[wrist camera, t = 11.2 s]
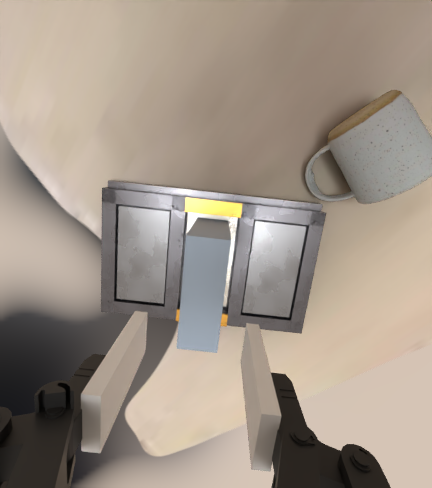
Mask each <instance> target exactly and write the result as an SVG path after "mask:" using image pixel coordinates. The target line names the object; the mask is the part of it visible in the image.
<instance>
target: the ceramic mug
mask: <svg viewBox="0 0 432 488" xmlns="http://www.w3.org/2000/svg"><path fill="white" fill-rule="evenodd" d="M327 140H328V144H327V145H326V146H325V147H323V148H321V149H320V150H319V151H318V152H317V153H316V154H315V155H314V156H313V157H312V158H311V159H310V161H309V162H308V165H307V167H306V172H305V179H306V183H307V186H308V188H309V190H310V192H311V193H312V194H313V195H314V196H315V197H316V198H318V199H320V200H323V201H331V202H335V201H342V200H346V199H350V198H352V197H355V198H356V200H357V201H358V202H359V203H362V204H371V203H375V202H379V201H382V200H386V199H389V198H391V197H394V196H396V195H398V194H401V193H403V192H405V191H407V190H410V189H412V188H413V187H415V186H417V185H419V184H420V183H422V182H424V181H425V180H427V179H428V178H430V177H431V176H432V137H431V135H430V134H429V132H428V130H427V129H426V127H425V125H424V124H423V122H422V121H421V119H420V117H419V116H418V114H417V112H416V110H415V109H414V107H413V105H412V104H411V102H410V101H409V100H408V99H407V98H406V97H405V96H404V95H403V94H402V92H400V91H398V90H391V91H389V92H387V93H385V94H384V95H382V96H380V97H379V98H377V99H376V100H374V101H373V102H371V103H370V104H368V105H367V106H365V107H364V108H362V109H361V110H359V111H358V112H356V113H355V114H353V115H352V116H350V117H349V118H348V119H346V120H345V121H343V122H342V123H341V124H339V125H338V126H336V127H335V128H334V129H332V130H331V131H330V133H329V134H328V139H327ZM327 150H330V151H331V153H332V154H333V156H334V158H335V160H336V162H337V164H338V166H339V167H340V169H341V171H342V173H343V175H344V177H345V179H346V181H347V183H348V185H349V187H350V189H351V191H350V192H348V193H345V194H342V195H335V196H328V195H324V194H322V193H321V192H320V191H319V190H318V188H317V186H316V184H315V181H314V178H313V177H314V174H313V172H312V169H311V167H312V165H313V163H314V161H315V159H317V158H318V157H319V156H320V155H321V154H322V153H324V152H326V151H327Z"/></svg>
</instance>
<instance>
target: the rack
mask: <svg viewBox="0 0 432 488" xmlns="http://www.w3.org/2000/svg"><path fill="white" fill-rule="evenodd" d="M321 210H322V204H318V203H309V202H300V201H291V200H282V199H273V198H264V197H255V196H246V195H237V194H228V193H219V192H210V191H201V190H192V189H183V188H174V187H165V186H156V185H147V184H138V183H129V182H120V181H108V187H107V188H102V271H101V276H102V277H101V311H102V312H110V313H120V314H129V315H133V314H134V312H135V311H140V312H148V313H147V317H156V318H166V319H174V320H176V321H179V315H180V303H181V291H182V279H183V267H184V255H185V243H186V235H187V233H188V232H189V230H190V229H191V227H192V225H193V224H194V222H195V221H196V219H197V217H201V218H210V219H219V220H228V221H229V229H230V236H231V246H230V254H229V262H228V270H227V278H226V286H225V294H224V302H223V310H222V318H221V326H227V325H229V326H238V327H246V323H249V324H259V327H260V329H265V330H274V331H283V332H292V333H302V328H303V323H304V318H305V313H306V308H307V303H308V299H309V294H310V289H311V284H312V279H313V274H314V269H315V265H316V260H317V255H318V250H319V245H320V240H321V235H322V231H323V226H324V221H325V216H326V213H325V212H322V211H321Z"/></svg>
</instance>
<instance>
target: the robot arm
mask: <svg viewBox="0 0 432 488" xmlns="http://www.w3.org/2000/svg"><path fill="white" fill-rule="evenodd" d="M147 313H148V312H140V311H135V312H134V314H133V315H132V317H131V318H130V320H129V321H128V323H127V324H126V326H125V327H124V329H123V330H122V332H121V334H120V335H119V337H118V338H117V340H116V341H115V343H114V344H113V346H112V347H111V349H110V350H109V352H108V353H107V355H98V354H93V355H92V356H90V357H89V358H87V359H86V360H85V361H84V362H83V363H82V364H81V366H80V367H79V369H78V370H77V371H76V372H75V374H74V376H72V378H71V379H70V380H69V382H68V381H54V382H51V383H48V384H46V385H45V386H43V387H41V388H40V389H39V390H38V391H37V392H36V394H35V395H34V399H35V413H31V414H26V415H20V416H14V417H11V411H10V410H9V409H8V408H4V407H0V488H70V485H71V480H72V475H73V470H74V465H75V451H76V450H77V448H78V446H79V444H80V442H81V443H82V444H81V447H82V448H81V449H82V451H85V452H96V453H101V451H102V448H103V446H104V444H105V441H106V439H107V437H108V435H109V432H110V430H111V428H112V426H113V424H114V421H115V419H116V417H117V414H118V412H119V410H120V408H121V405H122V403H123V401H124V399H125V396H126V394H127V392H128V390H129V387H130V385H131V383H132V380H133V378H134V376H135V374H136V371H137V369H138V367H139V365H140V363H141V360H142V358H143V356H144V353H145V351H146V332H147ZM241 369H242V379H243V389H244V399H245V410H246V420H247V429H248V440H249V450H250V460H251V469H252V470H263V471H270V470H271V465H272V462H273V468H274V478H273V483H272V488H391V487H390V485H389V483H388V481H387V479H386V477H385V475H384V473H383V471H382V469H381V467H380V465H379V463H378V462H377V460H376V459H375V457H374V456H373V455H372V454H370V452H369V451H367V450H365V449H364V448H362V447H361V446H358V445H354V444H347V445H345V446H343V448H342V450H341V451H340V450H337V449H335V448H332V447H329V446H327V445H325V444H323V443H321V442H320V441H319V440H318V439H317V437H316V435H315V434H314V432H313V431H312V430H310V429H309V428H308V427H307V425H306V422H305V419H304V416H303V414H302V410H301V407H300V405H299V402H298V400H297V396H296V393H295V390H294V387H293V384H292V382H291V380H290V379H289V378H288V377H287V376H286V374H278V373H271V372H270V368H269V364H268V359H267V355H266V351H265V347H264V343H263V339H262V335H261V331H260V327H259V324H249V323H246V330H245V337H244V343H243V350H242V357H241Z"/></svg>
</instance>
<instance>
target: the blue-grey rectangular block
mask: <svg viewBox="0 0 432 488" xmlns="http://www.w3.org/2000/svg"><path fill="white" fill-rule="evenodd" d="M230 246H231V236H230V229H229V221H228V220H219V219H210V218H201V217H197V219H196V221H195V222H194V224H193V225H192V227H191V229H190V230H189V232H188V233H187V235H186V243H185V255H184V267H183V279H182V291H181V303H180V315H179V327H178V339H177V348H178V349H187V350H196V351H205V352H214V353H217V350H218V342H219V334H220V326H221V318H222V310H223V302H224V294H225V286H226V278H227V270H228V262H229V254H230Z"/></svg>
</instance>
